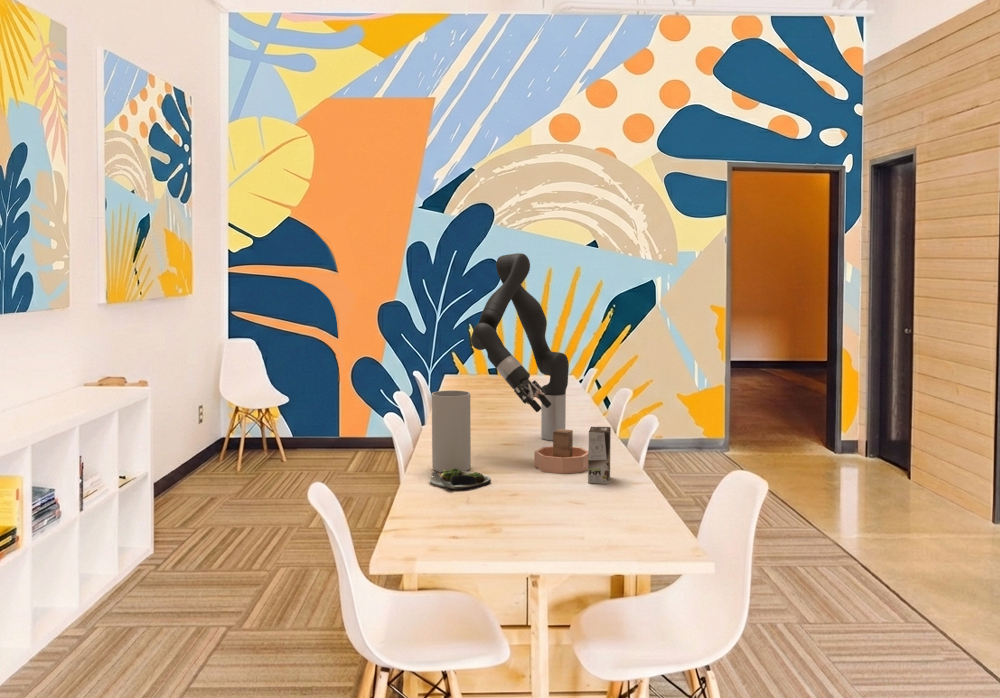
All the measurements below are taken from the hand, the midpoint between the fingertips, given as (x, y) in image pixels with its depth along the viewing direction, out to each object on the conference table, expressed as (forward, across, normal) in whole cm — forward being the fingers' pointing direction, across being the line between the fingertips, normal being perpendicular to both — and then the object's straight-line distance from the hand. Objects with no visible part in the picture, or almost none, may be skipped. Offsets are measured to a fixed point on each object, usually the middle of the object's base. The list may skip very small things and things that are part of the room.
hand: (544, 408), depth 274 cm
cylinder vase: (-4, -18, +31) cm, 37 cm away
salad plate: (+4, -33, +24) cm, 41 cm away
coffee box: (+30, -11, -3) cm, 32 cm away
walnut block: (+17, 0, +8) cm, 19 cm away
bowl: (+18, 0, +9) cm, 20 cm away
